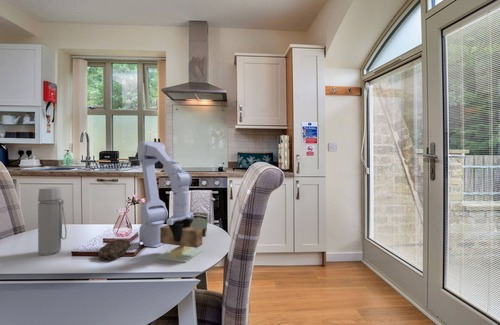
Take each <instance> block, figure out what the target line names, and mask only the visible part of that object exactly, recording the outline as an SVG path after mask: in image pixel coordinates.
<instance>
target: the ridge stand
mask: <svg viewBox="0 0 500 325" xmlns="http://www.w3.org/2000/svg"><path fill="white" fill-rule="evenodd" d="M203 250H204V249H199V248H198V249H197V248H192V247H186V246H175V247H173V248H172V249H169V250H167V251H166V252H163V253H162V254H160V255H158V256H157V259H161V260H166V261H173V262H180V263H188V262H189V261H191V260H192V259H193V258H195V257H196V256H198V255H199V254H201V253H203Z"/></svg>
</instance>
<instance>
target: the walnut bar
mask: <svg viewBox="0 0 500 325" xmlns="http://www.w3.org/2000/svg"><path fill="white" fill-rule="evenodd" d="M160 243H163V244H162V245H173V246H177V247H179V246H186V247H190V248H193V249H197V248H199V247H201V246H202V245H203V236H202V229H200V228H190V227H182V231H181V240H180V242H176V241H174V237H173V233H172V231H171V229H170V227H169V226H168V225H167V224H166V225H163V227H160Z"/></svg>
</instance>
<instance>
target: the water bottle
mask: <svg viewBox="0 0 500 325" xmlns="http://www.w3.org/2000/svg"><path fill="white" fill-rule="evenodd" d="M37 202H38V204H37V216H38V217H37V230H38V232H37V234H38V235H37V241H38V242H37V245H38V246H37V247H38V248H37V250H38V251H37V253H38V254H39V255H41V256H51V255H56V254H57V253H59V252H60V251H61V250H62V240H66V239H67V233H68V232H67V225H66V217H65V209H64V202H65V200H64V199H62V192H61V187H59V186H58V187H52V186H51V187H41V188H39V189H38V197H37ZM63 223H64V224H63ZM63 225H64V230H65V231H64V232H65V235H64V238H63Z"/></svg>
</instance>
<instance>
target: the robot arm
mask: <svg viewBox="0 0 500 325" xmlns="http://www.w3.org/2000/svg"><path fill="white" fill-rule="evenodd" d="M136 148H137V150H136V151H137V157H138V158H137V159H138V162H139V163H141V169H142V178H143V183H144V184H143V185H144V191H145V199H146V202H144V203H143V205H142V206H140V221H141V222H142V224H140V227H139V231H138V232H139V233H138V234H139V235H138V236H139V237H138V240H139V241H138V242H143V243H145V244H144V246H145V247H150V248H158V247H160V246H162V245H164V244H163V243H160V227H163V226H164V223H165V222H166V225H168V226H169V227H170V229H171V231H172V233H173V237H174V241H176V242H180V240H181V231H182V227H190V226H191V224H192V222H193V219H190V218H191V217H193V213H194V212H193V211H189V207H190V206H189V204H190V203H189V200H190V199H189V196H190V194H189V193H190V192H189V190H190V189H189V187H190V186H191V185H192V183H193V177H192V174H191V173H190V172H189V171H185V170H183V168H182V167H181V166H180V164H178V162H177V160H174V159H171V158H170V156H169V155H168V154H167V152H166V146H165V144H164V143H163V142H161V141H160V142H159V141H157V142H156V141H144V140H141V141H140V142H138V145H137V147H136ZM158 162H160V163H161V164H162V170H163V172H165V174H166V175H167V176H168V178H169V183H170V186H171V192H172V194H173V195H172V198H173V199H172V203H173V204H172V216H170V217H168V215H169V213H168V208H167V207H166V203H165V202H164V201H163V200H161V199H160V195H159V190H158V189H159V188H158V184H157V183H158V182H157V175H156V168H155V164H156V163H158ZM144 246H143V247H144Z"/></svg>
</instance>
